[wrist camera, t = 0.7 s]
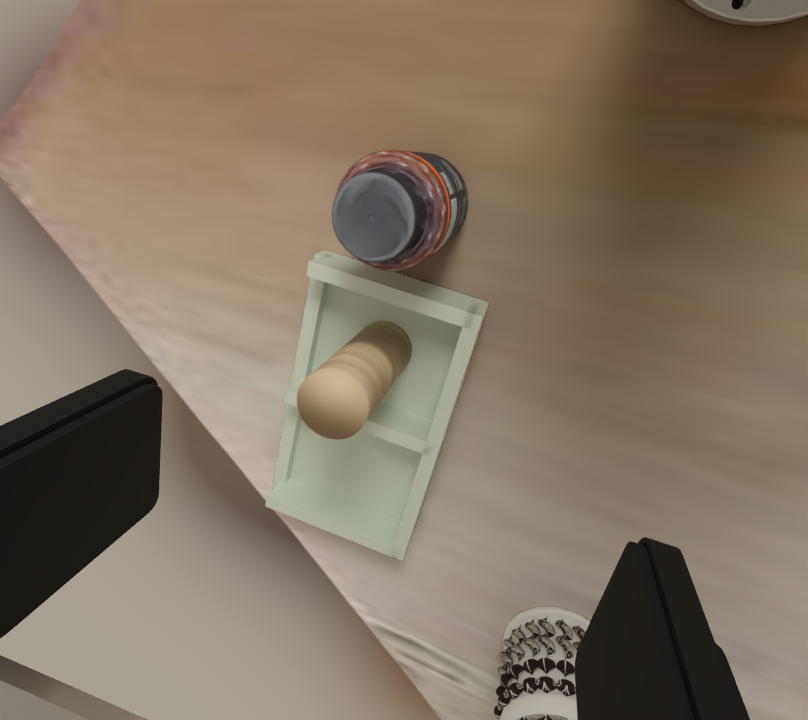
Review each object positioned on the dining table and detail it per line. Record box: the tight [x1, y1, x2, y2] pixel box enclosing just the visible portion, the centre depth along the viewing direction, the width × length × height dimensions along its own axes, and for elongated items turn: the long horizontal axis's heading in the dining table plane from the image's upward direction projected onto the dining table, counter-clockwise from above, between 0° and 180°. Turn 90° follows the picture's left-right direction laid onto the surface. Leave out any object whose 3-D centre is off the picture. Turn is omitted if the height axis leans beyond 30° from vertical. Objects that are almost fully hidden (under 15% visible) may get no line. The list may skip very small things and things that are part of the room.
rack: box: [265, 250, 490, 561], centre depth 38 cm, size 20×12×4 cm, turn 166°
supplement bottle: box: [332, 150, 468, 271], centre depth 29 cm, size 6×6×11 cm
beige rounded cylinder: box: [297, 321, 412, 440], centre depth 33 cm, size 4×4×10 cm
